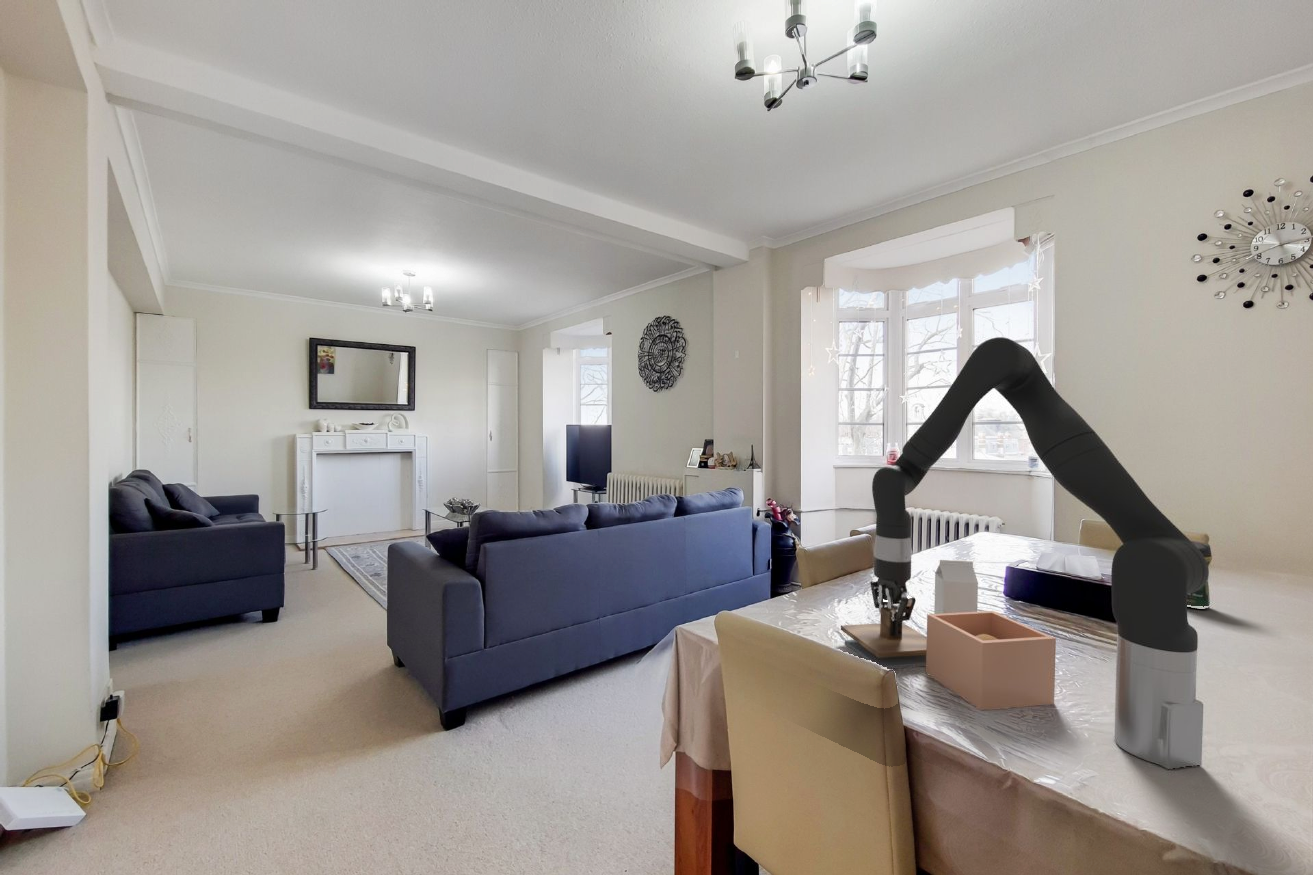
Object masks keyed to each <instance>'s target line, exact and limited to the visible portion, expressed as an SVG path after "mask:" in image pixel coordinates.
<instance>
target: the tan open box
mask: <svg viewBox="0 0 1313 875" xmlns="http://www.w3.org/2000/svg"><path fill="white" fill-rule="evenodd" d="M980 634H987V635H990V636H993V637H995V638H997V639H998V640H985V641H983V640H981V639H979V638H977V637H975V636H977V635H980ZM926 637H927V647H926V666H925V674H927V675H928V676H930V677H931V678H933V679H934V680H936V681H937V682H939V683H940V684H941V685H943V686H945V687H946V688H947V689H949V690H951V691H952V692H953V693H954V694H957V695H958V696H959V697H961V698H962V699H964V700H965V701H967V702H968V703H970V704H971V705H972V706H974V707H975V708H977V709H978V710H980V711H989V710H1001V709H1012V708H1013V709H1014V708H1021V707H1033V706H1036V707H1037V706H1045V705H1046V706H1047V705H1055V684H1056V683H1055V682H1056V680H1055V679H1056V655H1057V654H1056V653H1057V652H1056V651H1057V650H1056V648H1057V645H1056V644H1057V638H1056V637H1054V636H1051V635H1049V634H1047V633H1044V632H1042V631H1040V630H1038V629H1035V628H1033V627H1031V626H1029V625H1026V624H1024V623H1022V622H1019V621H1016V620H1014V619H1012V618H1010V617H1008V616H1006V615H1002V614H1000V613H998V612H996V611H994V610H985V611H984V610H982V611H977V612H962V613H943V614H934V613H930V614H928V613H927V616H926Z"/></svg>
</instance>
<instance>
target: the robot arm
mask: <svg viewBox="0 0 1313 875" xmlns="http://www.w3.org/2000/svg"><path fill="white" fill-rule="evenodd" d="M993 389H995V390H996V391H997V392H998V393H999V394H1000V395H1001V396H1002V397H1003V398H1004V399H1005V400H1006V401H1007V402H1008V403H1009V405H1010V406H1011V407H1012V408H1013V410H1015V412H1016V413H1017V414H1018V416H1019V417H1020V419H1021V420H1022V423H1023V425H1024V427H1025V430H1026V433H1027V437H1028V440H1029V441H1030V443H1031V446H1032V447H1033V450H1034V451H1035V453H1036V455H1037V456H1038V458H1039V459H1040V461H1041V462H1042V464H1043V465H1044V466H1045V467H1046V468H1047V470H1048V471H1049V473H1050V474H1051V475H1052V478H1054V480H1056V481H1057V483H1058V484H1060V485H1061V486H1062V488H1064V489H1065V490H1066V491H1067V492H1068V493H1069V494H1070V495H1072V496H1074V498H1075V499H1077V500H1079V501H1080V502H1081V503H1082V504H1084V505H1085V506H1087V507H1088V508H1089V509H1090V510H1092V511H1093V512H1094V513H1095V514H1097V515H1098V516H1099V517H1101V519H1103V521H1105V523H1107V525H1108V526H1109V527H1110V528H1111V530H1112V531H1113V532H1114V533H1115V534H1116V536H1117V537H1118V539H1119V540H1120V541H1121V543H1122V544H1121V545H1120V546H1119V547H1118V548H1117V549H1116V551H1115V553H1114V555H1113V558H1112V563H1111V573H1110V574H1111V577H1110V578H1111V580H1110V581H1111V609H1112V614H1113V617H1114V620H1115V621H1116V624H1117V634H1116V638H1117V639H1116V667H1115V668H1116V669H1115V670H1116V671H1115V701H1114V704H1115V705H1114V736H1113V737H1114V741H1115V743H1116V745H1117V746H1119V747H1120V748H1121V749H1123V750H1124V751H1126V752H1127V753H1129V754H1131V755H1133V756H1135V757H1137V758H1140V759H1141V760H1145V761H1147V762H1150V763H1153V764H1157V765H1159V766H1161V767H1163V768H1165V769H1167V770H1174V769H1173V768H1175V769H1181V768H1180V767H1184V766H1192V767H1198V766H1197V765H1201V766H1202V764H1203V763H1202V761H1203V731H1204V730H1203V728H1204V727H1203V726H1204V703H1203V702H1202V701H1200V700H1198V699H1197V670H1198V669H1197V667H1198V666H1197V665H1198V647H1199V646H1198V645H1199V644H1198V641H1199V639H1198V638H1199V637H1198V631H1197V630H1196V628H1194V627H1193V626H1191V624H1189V621H1188V608H1187V594H1190V593H1193V592H1196V591H1198V590H1199V589H1201V588H1202V587H1203V586H1204V585H1205V584H1206V582H1207V580H1208V581H1209V575H1210V574H1209V573H1210V569H1209V566H1208V565H1207V561H1206V559H1205V557H1204V556H1203V554H1202V553H1201V552H1200V550H1199V549H1198V548H1197V547H1196V546H1195V545H1194V544H1193V543H1192V542H1191V541H1192V540H1191V539H1190V538H1188V536H1186V535H1185V534H1184V533H1183V532H1182V530H1180V528H1178V527H1177V526H1176V525H1175V524H1174V523H1173V522H1172V521H1171V520H1170V519H1169V518H1168V517H1167V516H1166V515H1165V514H1164V513H1163V512H1162V511H1161V510H1160V509H1159V508H1158V507H1157V506H1156V505H1155V504H1154V503H1153V502H1152V501H1151V499H1149V497H1148V496H1147V494H1145V492H1144V491H1143V490H1142V488H1141V486H1140V485H1139V484H1138V483H1137V482H1136V481H1135V479H1134V478H1133V476H1132V475H1131V474H1130V473H1129V472H1128V471H1127V470H1126V468H1125V467H1124V466H1123V464H1122V463H1121V462H1120V461H1119V460H1118V458H1117V457H1116V456H1115V454H1114V453H1113V452H1112V450H1111V449H1110V448H1109V447H1108V445H1107V444H1106V443H1105V442H1104V440H1103V439H1102V438H1101V437H1100V436H1099V434H1098V433H1096V431H1095V430H1094V429H1093V428H1092V427H1091V426H1090V425H1089V423H1088V422H1087V421H1086V420H1085V419H1084V418H1083V417H1082V416H1081V415H1080V414H1079V413H1078V411H1076V410H1075V408H1073V407H1072V406H1071V405H1070V404H1069V403H1068V402H1067V401H1065V399H1063V397H1061V395H1060V393H1058V392H1057V390H1056V389H1055V388H1054V386H1053V385H1052V383H1051V381H1050V380H1049V379H1048V377H1047V376H1046V374H1045V373H1044V371H1043V369H1042V368H1041V366H1040V364H1039V363H1038V361H1037V359H1036V358H1035V357H1034V355H1033V353H1032V352H1031V351H1029V349H1028V348H1027V347H1025V346H1023V345H1022V344H1019V343H1018V342H1016V341H1015V340H1013V339H1011V338H1008V337H1004V336H995V337H990V338H989V339H986V340H984V341H982V342H981V343H980V344H979V345H977V347H976V348H975V349H974V350H973V352H972V353H971V354H970V356H969V357H968V359H967V361H966V362H965V364H964V365H963V367H962V369H961V370H960V372H959V373H958V375H957V376H956V378H955V379H954V381H953V383H952V384H951V385H950V387H949V388H948V390H947V392H946V393H945V394H944V396H943V397H942V399H941V400H940V401H939V403H938V404H937V406H936V407H935V408H934V410H933V411H932V412H931V414H930V415H929V416H928V418H926V420H925V421H924V422H923V423H922V424H921V425H920V426H919V427H918V428H917V430H916V431H915V432H914V433H913V434H912V435H911V437H910V438H909V439H908V440H907V441H906V443H905V444H904V445H903V447H902V453H901V454H900V456H898V458H897V459H896V461H895V462H894V463H893V464H891V465H888V466H887V465H886V466H883V467H880V468H879V469H878V470H877V471H876V472H875V473H874V476H873V478H872V485H871V491H872V492H871V493H872V498H873V504H874V510H875V514H876V518H875V519H876V520H875V540H874V546H873V548H874V551H873V553H874V554H873V575H874V576H875V577H876V578H877V580H874V581H870V588H871V595H872V599H873V604H874V605H873V606H874V607H875V609H878V613H879V614H880V615H881V607H888V608H889V609H890V612H891V636H892V637H893V638H900V637H901V636H902V623H904V621H910V619H911V616H912V613H913V610H914V606H915V604H916V598H915V597H914V596H910V595H909V594H908V588H907V582H908V581H910V580H911V579H912V540H911V536H912V535H911V531H912V530H911V526H912V519H911V514H910V512H909V511H907V510H906V508H907V507H906V497H907V495H909V494H911V493H912V492H914V490H915V489H916V488H917V487H918V485H920V483H921V481H922V480H923V479H924V477H925V476H926V475H927V473H928V472H929V470H930V468H932V467H933V466H934V464H935V463H937V462H938V461H939V460H940V458H941V457H943V455H944V454H946V452H947V451H948V450H949V449H950V448H951V447H952V445H953V444H954V443H955V442H956V440H957V438H958V437H959V435H960V433H961V431H962V429H963V427H964V426H965V424H966V421H967V420H968V417H969V416H970V414H971V412H973V409H974V408H975V407H976V405H977V404H978V403H979V402H980V401H981V400H982V399H983V398H984V397H985V396H986V395H987V394H988V393H989V392H991V391H992V390H993ZM896 610H898V612H897V615H896ZM1194 765H1195V766H1194ZM1184 768H1185V767H1184Z"/></svg>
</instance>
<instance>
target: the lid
mask: <svg viewBox="0 0 1313 875" xmlns="http://www.w3.org/2000/svg"><path fill="white" fill-rule="evenodd" d="M897 612H898V610H896V615H897ZM840 630H841V631H842V632H843V633H845V634H846V635H847V636H849V637H850V638H851V640H855V641H857V642H858V643H859V644H861V645H862V646H863V647H865V648H866V649H867V650H869V651H870V652H871V653H873V654H874V655H875V656H877V657H878V658H883V657H898V656H913V655H926V647H927V635H925V634H923V633H921V632H919V631H918V630H916V629H914V628H912V627H911V626H909V625H907V624H906V623H904V622H902V636H901V637H900V638H893V637H892V636H891V612H890V609H889V608H888V607H881V614H880V622H879V623H865V624H864V623H863V624H847V625H846V624H845V625H843V624H842V625H840Z"/></svg>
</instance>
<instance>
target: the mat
mask: <svg viewBox="0 0 1313 875" xmlns="http://www.w3.org/2000/svg"><path fill="white" fill-rule="evenodd" d="M844 644H846V646H848V647H849V648H851V649H852V650H854V651H855V652H856V653H857V654H859V655H860V656H861V657H862V658H864V659H865V658H866V659H865V660H867V659H868V660H871V661H872V662H876V663H877V664H879V665H882V666H883V667H887V668H889V669H901V668H914V667H915V668H916V667H926V655H913V656H898V657H883V658H878V657H877V656H875V655H874V654H873V653H871V652H870V651H869V650H867V649H866V648H865V647H863V646H862V645H861V644H859V643H858V642H857V641H855V640H854V639H845V640H844ZM868 660H867V661H868Z"/></svg>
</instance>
